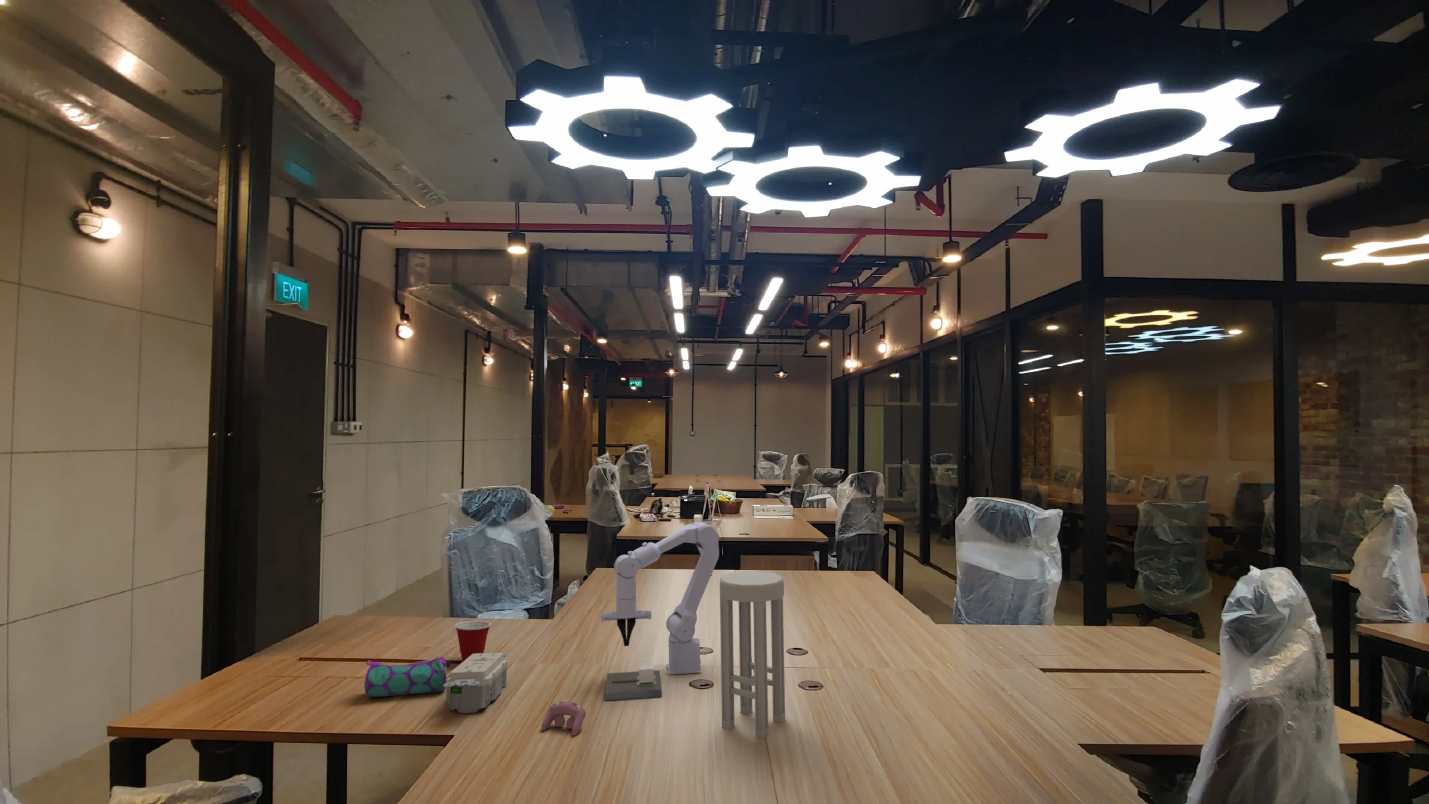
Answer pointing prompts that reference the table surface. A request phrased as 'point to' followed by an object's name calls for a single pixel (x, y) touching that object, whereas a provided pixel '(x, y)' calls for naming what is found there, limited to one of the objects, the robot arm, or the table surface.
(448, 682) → the electrical outlet
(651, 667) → the lever
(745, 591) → the stool
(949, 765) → the table surface
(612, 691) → the breaker panel
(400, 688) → the pencil case
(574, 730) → the video game controller
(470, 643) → the plastic cup
